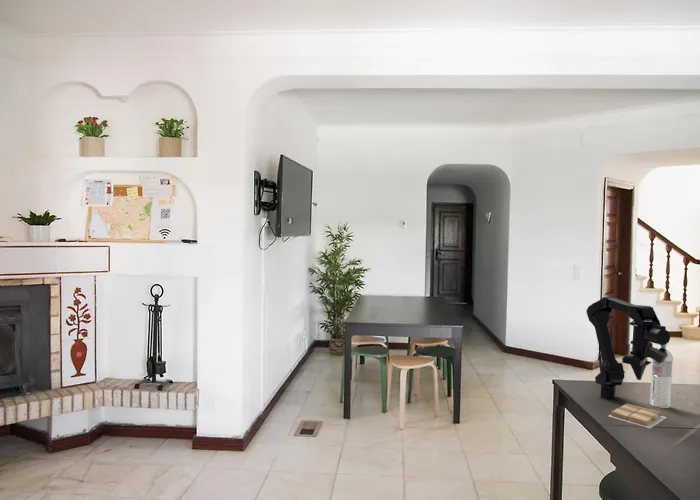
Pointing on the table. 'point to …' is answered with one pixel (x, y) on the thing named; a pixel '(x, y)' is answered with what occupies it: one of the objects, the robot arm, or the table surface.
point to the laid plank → (625, 411)
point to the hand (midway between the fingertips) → (638, 379)
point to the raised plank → (644, 416)
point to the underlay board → (648, 424)
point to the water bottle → (661, 382)
